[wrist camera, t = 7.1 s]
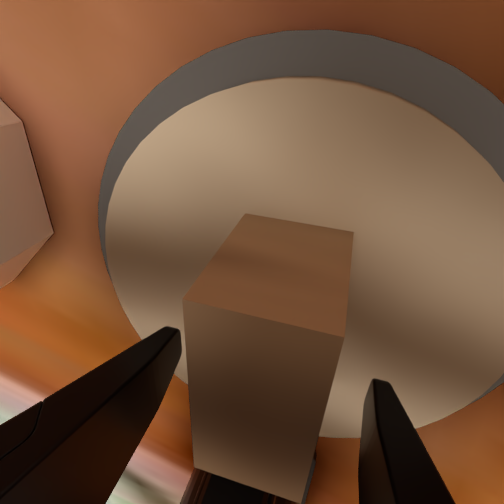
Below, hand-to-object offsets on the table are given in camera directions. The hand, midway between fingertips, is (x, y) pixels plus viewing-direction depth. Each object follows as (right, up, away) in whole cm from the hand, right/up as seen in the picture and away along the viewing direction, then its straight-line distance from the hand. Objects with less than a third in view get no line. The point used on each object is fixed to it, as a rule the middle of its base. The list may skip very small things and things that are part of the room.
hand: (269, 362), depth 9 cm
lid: (+1, +2, +3) cm, 3 cm away
